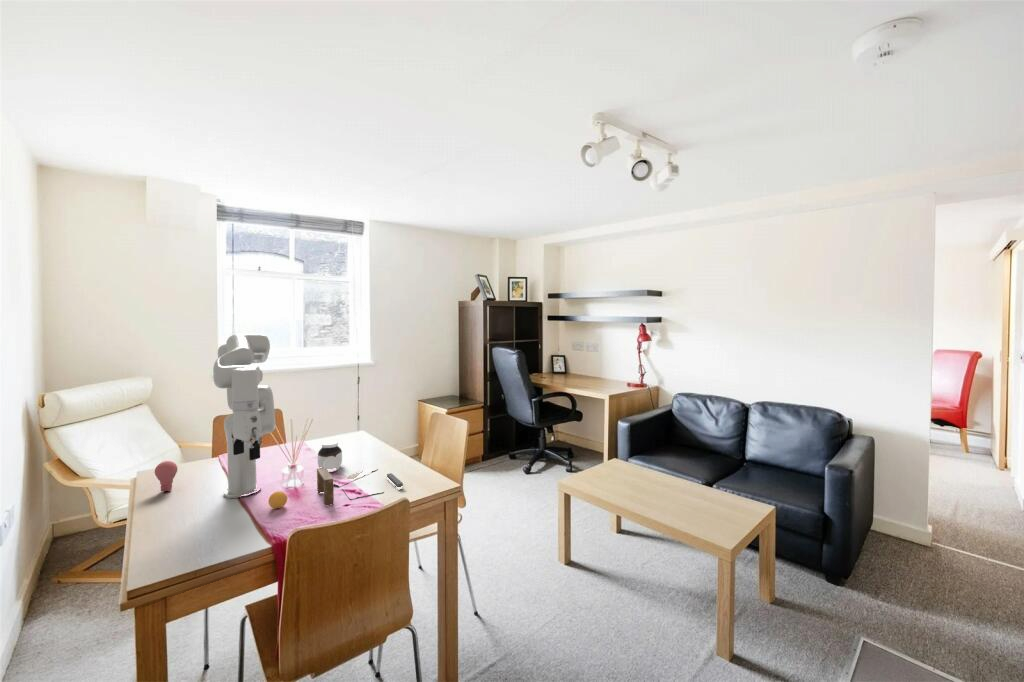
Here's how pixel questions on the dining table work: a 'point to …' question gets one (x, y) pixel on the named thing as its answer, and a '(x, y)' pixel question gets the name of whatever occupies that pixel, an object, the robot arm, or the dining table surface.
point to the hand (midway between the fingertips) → (246, 456)
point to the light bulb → (166, 474)
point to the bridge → (325, 485)
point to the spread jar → (330, 455)
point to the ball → (277, 499)
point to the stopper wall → (395, 480)
